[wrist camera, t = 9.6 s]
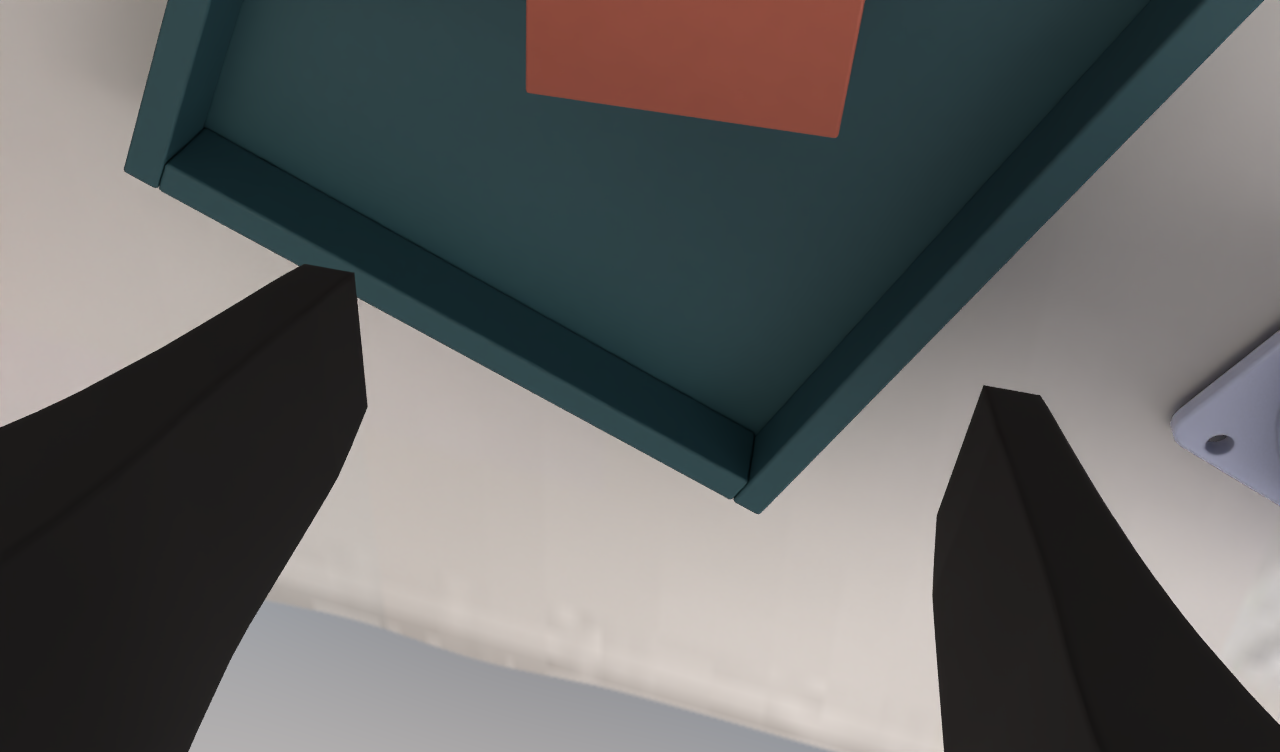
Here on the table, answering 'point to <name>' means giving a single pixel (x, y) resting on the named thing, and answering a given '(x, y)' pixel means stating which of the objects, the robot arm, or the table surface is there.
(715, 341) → the tray
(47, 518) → the robot arm
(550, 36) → the top block
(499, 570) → the table surface
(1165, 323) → the table surface
